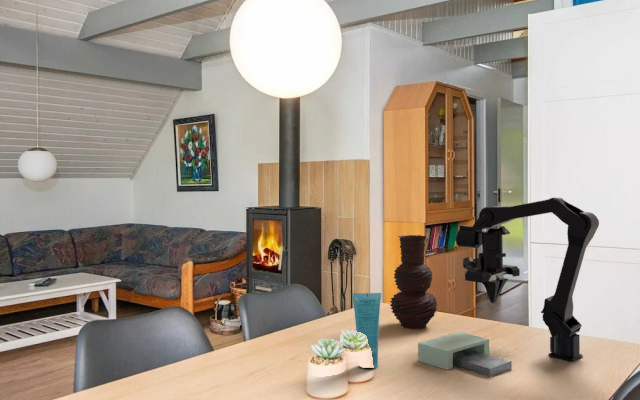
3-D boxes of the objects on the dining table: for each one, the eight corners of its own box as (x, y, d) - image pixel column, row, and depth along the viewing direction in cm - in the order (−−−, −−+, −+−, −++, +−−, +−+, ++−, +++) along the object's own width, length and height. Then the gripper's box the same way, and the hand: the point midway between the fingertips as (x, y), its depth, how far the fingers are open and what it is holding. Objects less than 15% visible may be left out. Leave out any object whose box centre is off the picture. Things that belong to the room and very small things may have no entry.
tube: (380, 363, 149) (379, 290, 148) (384, 369, 144) (382, 294, 143) (352, 364, 148) (351, 291, 147) (355, 370, 143) (354, 295, 143)
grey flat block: (511, 369, 142) (511, 361, 142) (489, 377, 137) (489, 368, 136) (454, 353, 156) (454, 345, 156) (432, 359, 151) (432, 351, 151)
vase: (382, 323, 191) (381, 235, 190) (423, 319, 196) (422, 233, 195) (402, 334, 177) (401, 239, 176) (446, 329, 181) (444, 237, 180)
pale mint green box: (489, 356, 152) (489, 339, 152) (447, 370, 142) (447, 351, 142) (459, 348, 160) (459, 331, 160) (418, 360, 150) (418, 342, 150)
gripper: (488, 245, 176) (489, 294, 177) (449, 250, 165) (450, 302, 165) (520, 247, 167) (520, 300, 168) (481, 253, 156) (481, 309, 156)
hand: (492, 302), depth 164 cm, fingers closed
